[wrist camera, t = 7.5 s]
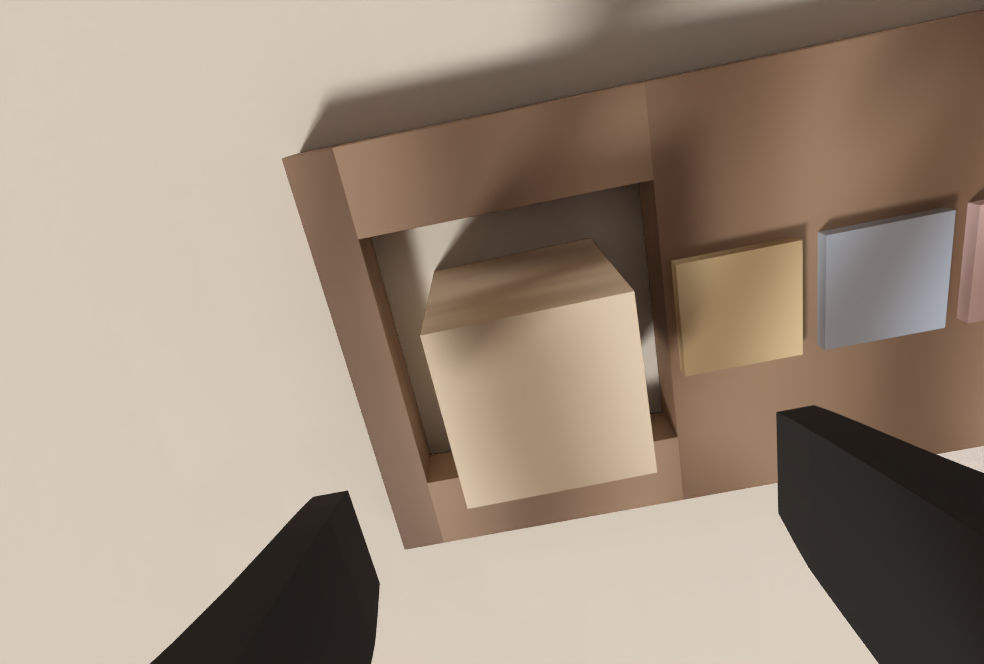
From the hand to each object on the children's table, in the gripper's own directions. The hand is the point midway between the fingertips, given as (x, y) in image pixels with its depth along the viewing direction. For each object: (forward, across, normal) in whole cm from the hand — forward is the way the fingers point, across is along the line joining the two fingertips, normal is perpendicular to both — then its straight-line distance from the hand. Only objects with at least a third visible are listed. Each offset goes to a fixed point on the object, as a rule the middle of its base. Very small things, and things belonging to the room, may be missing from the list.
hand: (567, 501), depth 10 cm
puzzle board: (+8, -7, 0) cm, 11 cm away
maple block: (+8, 0, 0) cm, 8 cm away
